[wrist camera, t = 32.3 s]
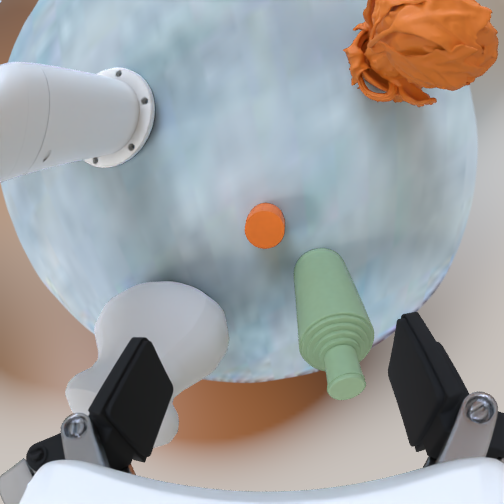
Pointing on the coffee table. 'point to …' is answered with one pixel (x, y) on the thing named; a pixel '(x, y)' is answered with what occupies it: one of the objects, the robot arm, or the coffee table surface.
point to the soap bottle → (156, 341)
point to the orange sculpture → (421, 47)
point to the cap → (265, 226)
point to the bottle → (331, 321)
